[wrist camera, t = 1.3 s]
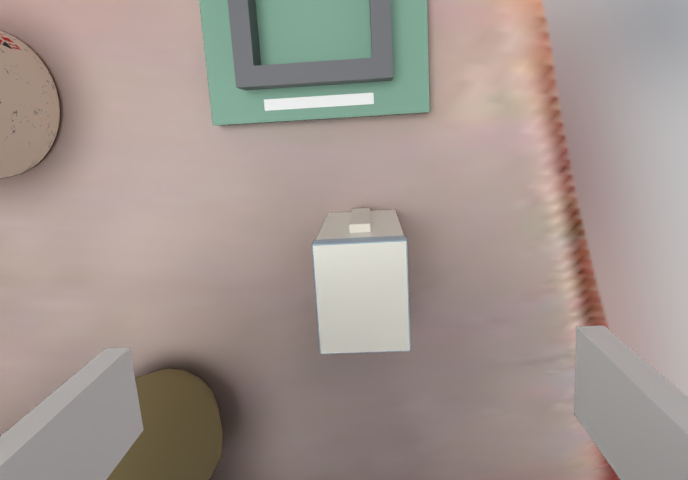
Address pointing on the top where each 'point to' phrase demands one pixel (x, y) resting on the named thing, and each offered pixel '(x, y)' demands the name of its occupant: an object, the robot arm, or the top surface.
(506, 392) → the top surface
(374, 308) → the plug
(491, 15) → the top surface
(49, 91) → the teacup with lid
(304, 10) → the header board
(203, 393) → the squeeze bottle
